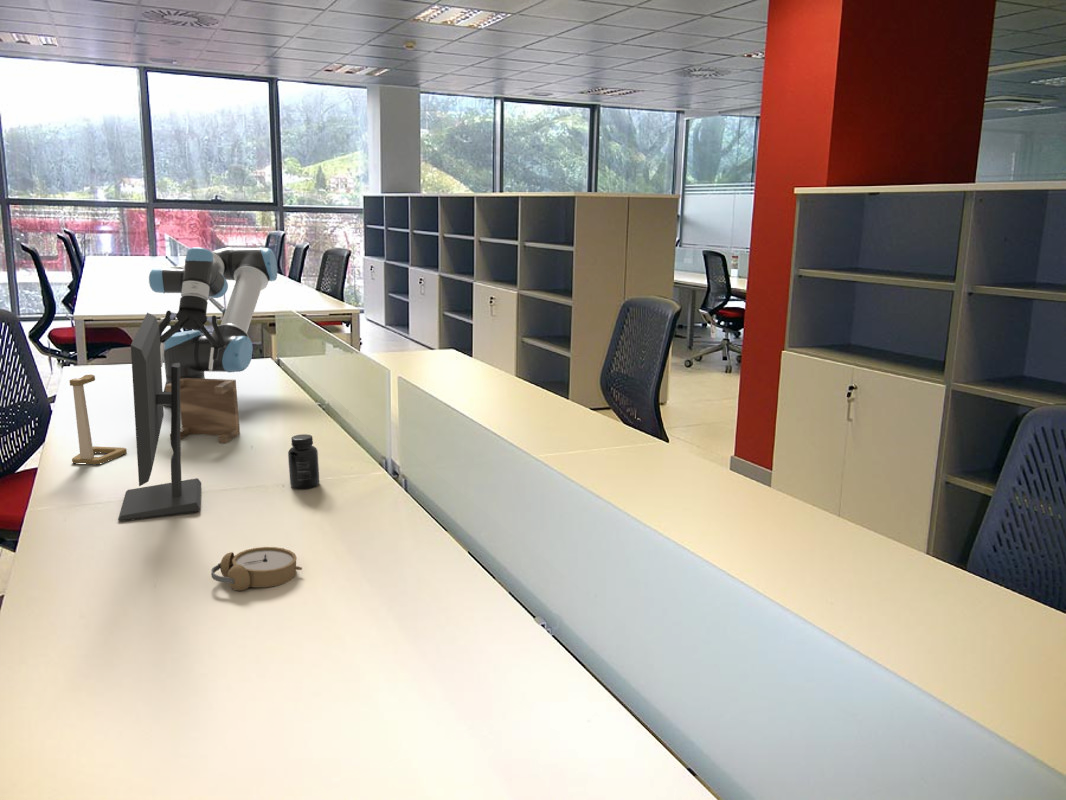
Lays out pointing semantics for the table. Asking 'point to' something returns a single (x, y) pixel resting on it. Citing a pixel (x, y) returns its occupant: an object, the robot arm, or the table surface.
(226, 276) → the robot arm
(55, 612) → the table surface
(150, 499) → the computer monitor
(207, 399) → the stool
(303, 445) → the supplement bottle
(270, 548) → the alarm clock
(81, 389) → the headphone stand
